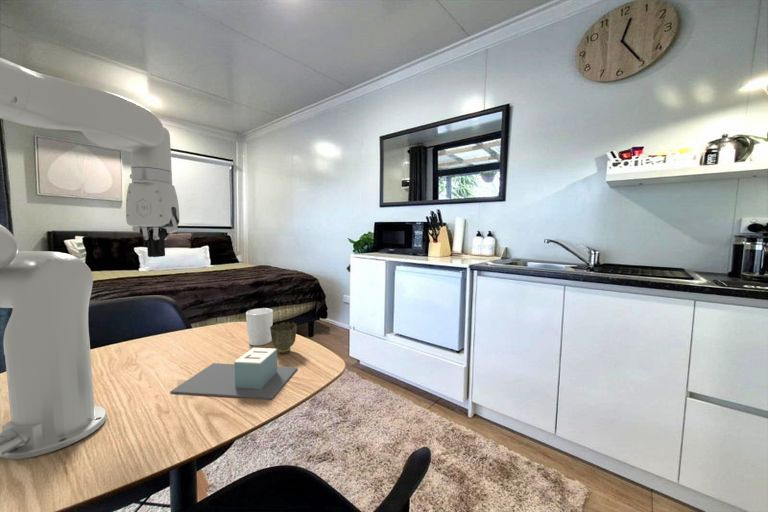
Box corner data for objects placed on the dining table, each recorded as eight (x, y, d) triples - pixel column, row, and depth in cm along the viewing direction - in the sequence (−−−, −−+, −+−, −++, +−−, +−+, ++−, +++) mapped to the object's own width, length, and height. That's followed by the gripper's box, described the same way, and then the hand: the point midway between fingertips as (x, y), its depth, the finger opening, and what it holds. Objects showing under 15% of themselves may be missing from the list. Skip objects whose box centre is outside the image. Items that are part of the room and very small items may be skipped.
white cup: (278, 340, 96) (278, 310, 95) (257, 348, 90) (256, 316, 89) (263, 335, 100) (262, 306, 100) (241, 343, 94) (240, 312, 93)
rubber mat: (271, 399, 62) (271, 397, 62) (170, 393, 65) (170, 391, 65) (297, 369, 76) (297, 367, 76) (213, 364, 79) (213, 363, 78)
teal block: (234, 361, 66) (235, 387, 66) (260, 362, 65) (260, 388, 66) (253, 347, 74) (254, 370, 74) (276, 348, 73) (277, 372, 74)
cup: (270, 349, 89) (270, 323, 89) (296, 345, 92) (295, 320, 91) (270, 359, 82) (269, 330, 82) (298, 355, 85) (297, 328, 84)
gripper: (107, 176, 67) (112, 257, 68) (169, 175, 65) (173, 258, 67) (138, 181, 74) (142, 255, 76) (193, 181, 73) (197, 255, 74)
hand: (156, 256), depth 71 cm, fingers closed
